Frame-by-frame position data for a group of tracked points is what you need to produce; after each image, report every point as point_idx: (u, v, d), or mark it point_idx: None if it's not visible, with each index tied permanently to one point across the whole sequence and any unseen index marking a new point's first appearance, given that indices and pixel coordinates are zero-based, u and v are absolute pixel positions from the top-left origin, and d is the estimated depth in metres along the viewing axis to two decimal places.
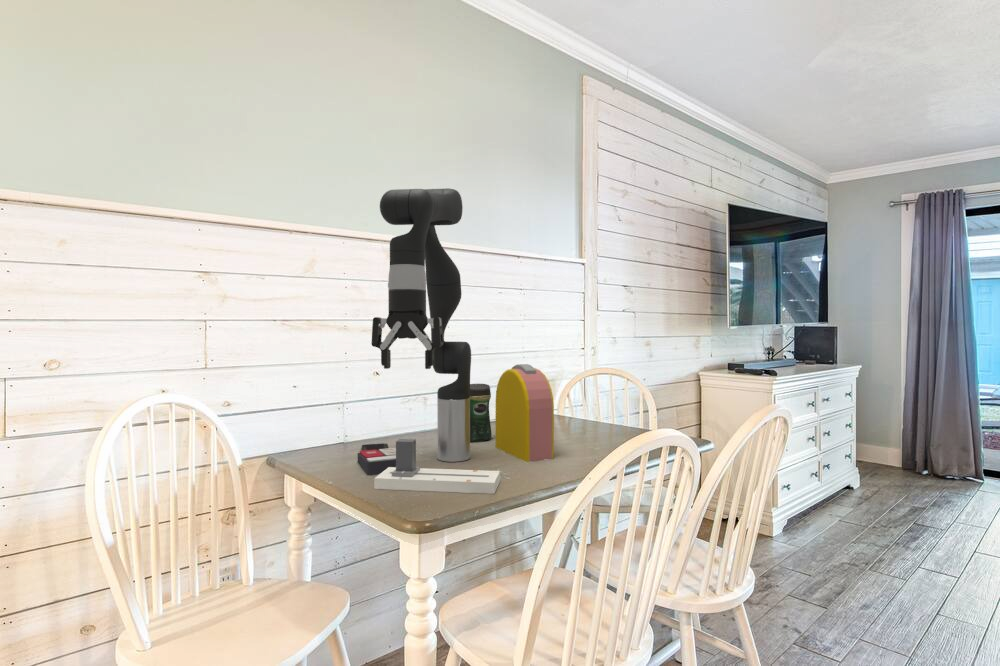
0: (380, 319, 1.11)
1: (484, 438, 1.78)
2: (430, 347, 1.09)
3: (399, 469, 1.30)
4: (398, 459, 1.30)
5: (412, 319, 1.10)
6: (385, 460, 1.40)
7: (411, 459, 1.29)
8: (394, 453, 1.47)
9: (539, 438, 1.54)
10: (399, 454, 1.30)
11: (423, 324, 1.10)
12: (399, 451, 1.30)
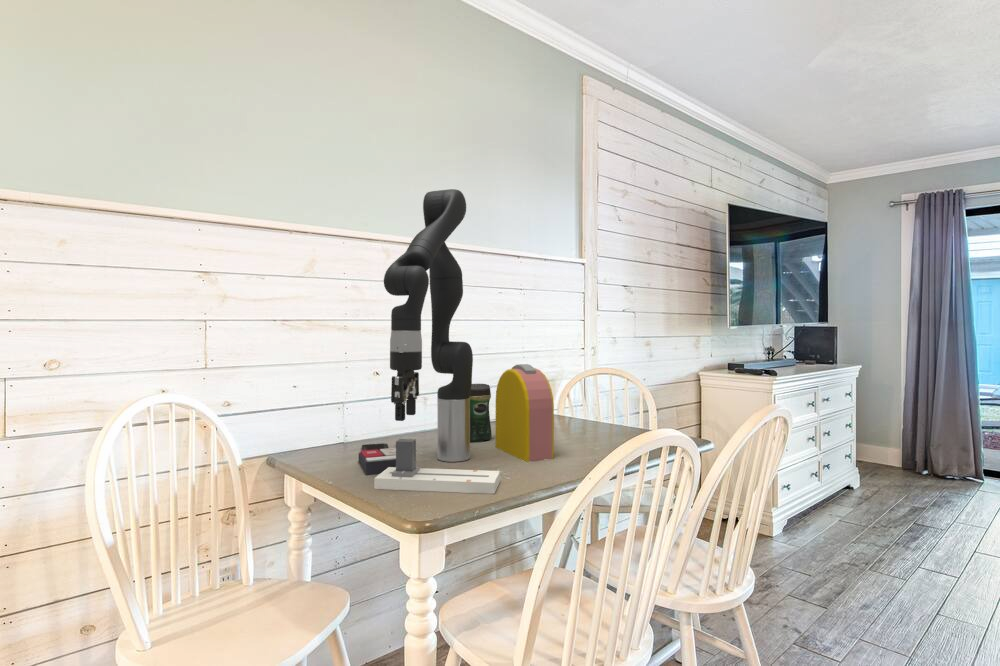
0: None
1: (484, 438, 1.78)
2: (416, 397, 1.36)
3: (399, 469, 1.30)
4: (398, 459, 1.30)
5: (412, 375, 1.32)
6: (383, 460, 1.40)
7: (411, 459, 1.29)
8: (394, 453, 1.47)
9: (539, 438, 1.54)
10: (399, 454, 1.30)
11: None
12: (399, 451, 1.30)
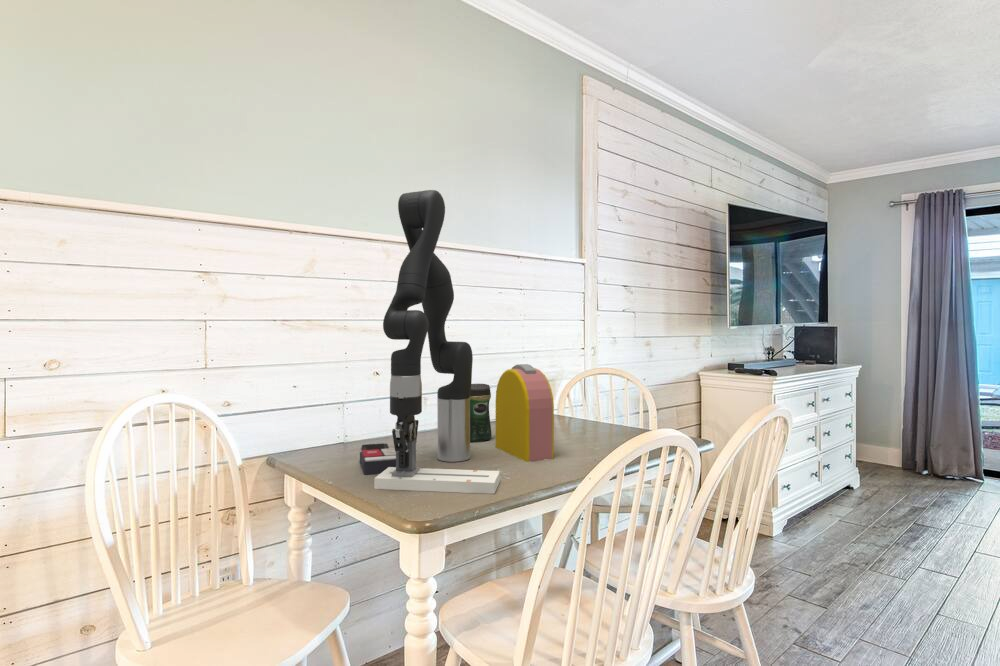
0: (401, 429, 1.25)
1: (484, 438, 1.78)
2: None
3: (399, 469, 1.30)
4: (398, 459, 1.30)
5: (412, 419, 1.32)
6: (382, 460, 1.40)
7: (411, 459, 1.29)
8: (393, 453, 1.46)
9: (539, 438, 1.54)
10: (398, 454, 1.30)
11: None
12: None
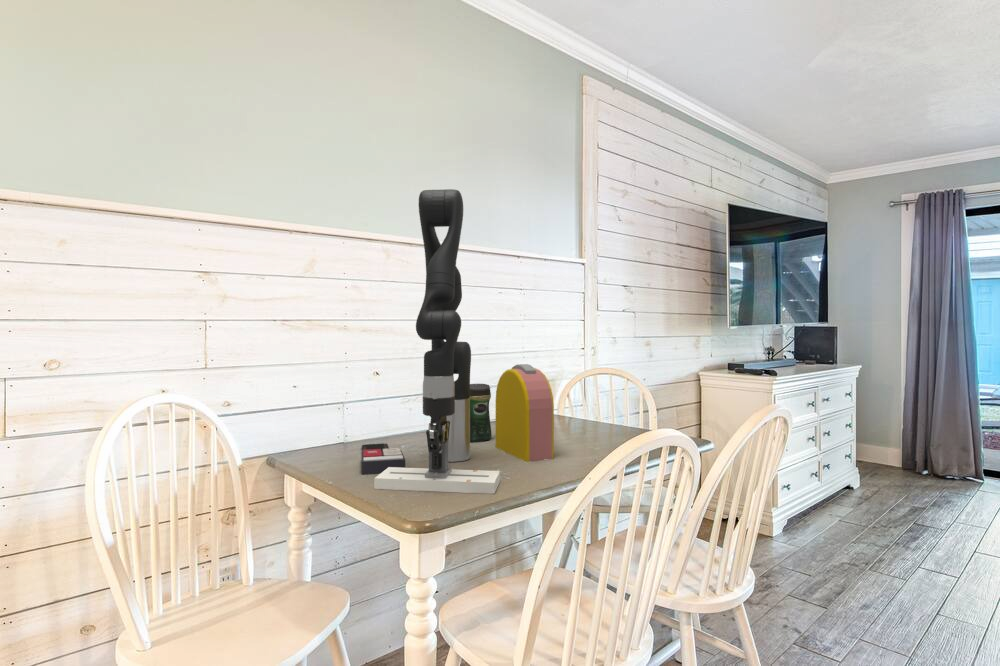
0: (434, 430, 1.24)
1: (484, 438, 1.78)
2: None
3: (432, 470, 1.29)
4: (431, 460, 1.29)
5: (444, 420, 1.31)
6: (379, 460, 1.40)
7: (444, 460, 1.28)
8: (393, 453, 1.46)
9: (539, 438, 1.54)
10: (431, 455, 1.28)
11: None
12: None
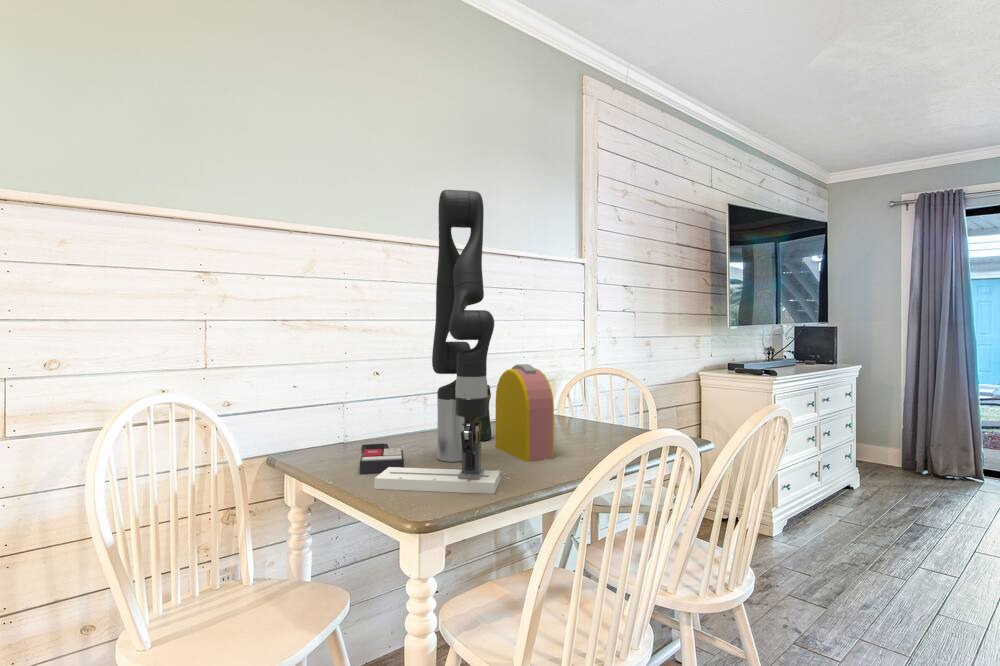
0: (469, 430, 1.23)
1: (484, 438, 1.78)
2: None
3: (465, 471, 1.28)
4: (464, 461, 1.28)
5: (477, 420, 1.30)
6: (378, 460, 1.40)
7: (477, 461, 1.27)
8: (392, 453, 1.46)
9: (539, 438, 1.54)
10: (464, 456, 1.27)
11: None
12: None
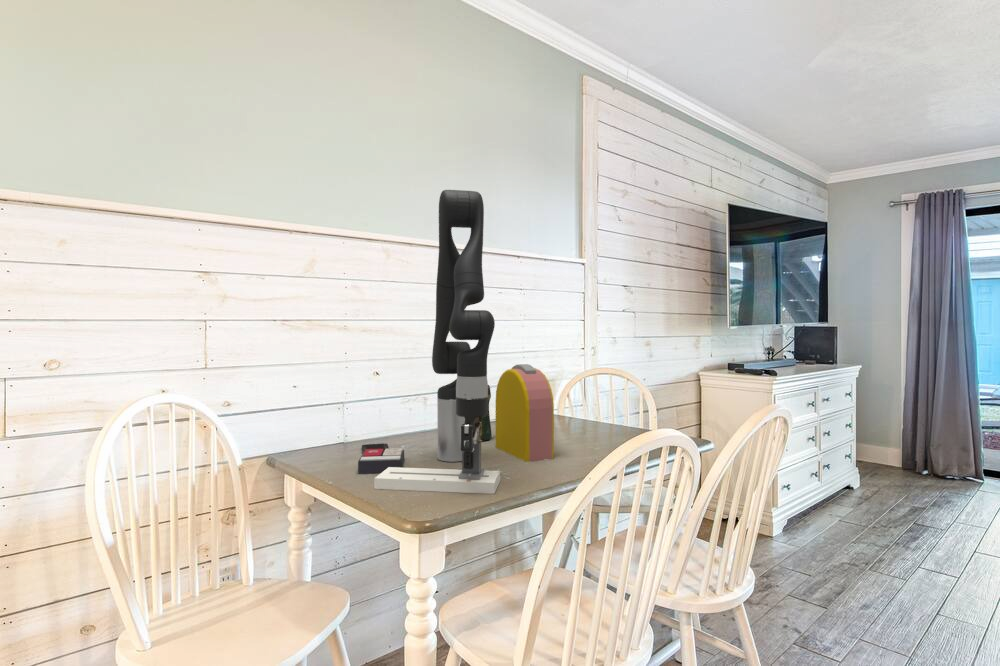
0: None
1: (484, 438, 1.78)
2: None
3: (465, 471, 1.28)
4: None
5: (477, 420, 1.30)
6: (376, 460, 1.40)
7: (478, 461, 1.27)
8: (392, 454, 1.46)
9: (539, 438, 1.54)
10: None
11: None
12: None
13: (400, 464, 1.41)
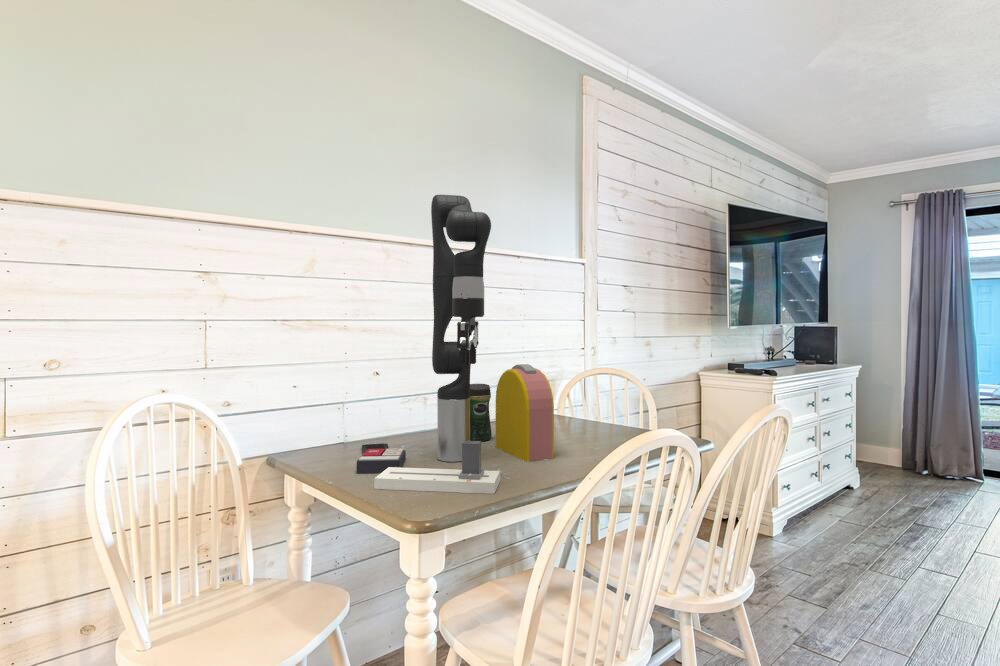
0: None
1: (484, 438, 1.78)
2: (476, 346, 1.34)
3: (465, 471, 1.28)
4: (464, 461, 1.27)
5: (473, 323, 1.31)
6: (374, 460, 1.40)
7: (478, 461, 1.27)
8: (391, 454, 1.46)
9: (539, 438, 1.54)
10: (465, 456, 1.27)
11: None
12: (465, 454, 1.27)
13: (398, 464, 1.41)
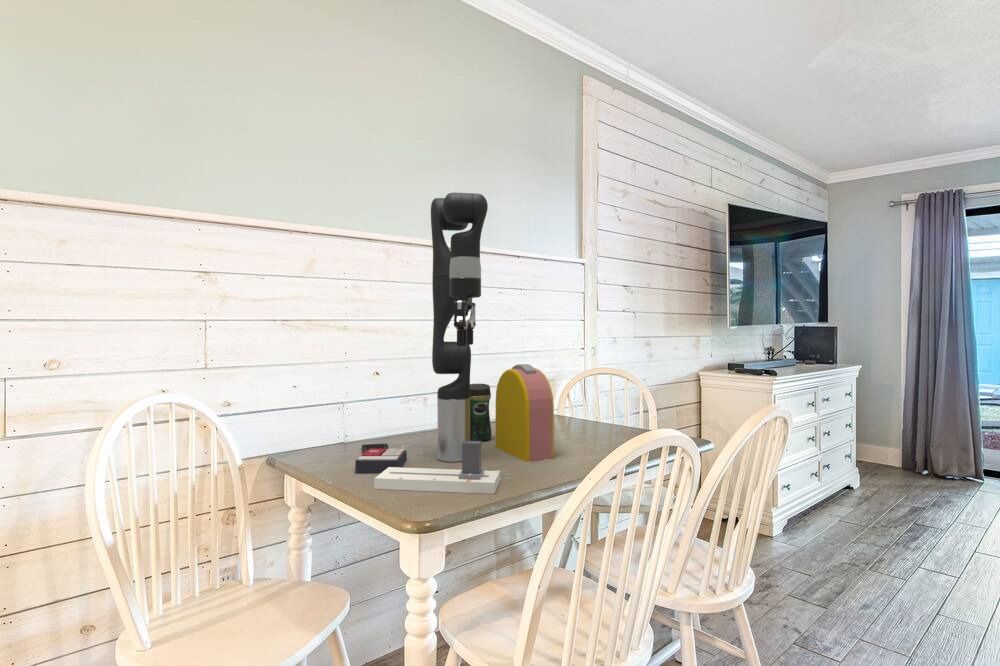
0: None
1: (484, 438, 1.78)
2: None
3: (465, 471, 1.28)
4: (464, 461, 1.27)
5: (470, 303, 1.32)
6: (373, 460, 1.40)
7: (478, 461, 1.27)
8: (391, 454, 1.46)
9: (539, 438, 1.54)
10: (465, 456, 1.27)
11: None
12: (465, 454, 1.27)
13: (397, 464, 1.40)
